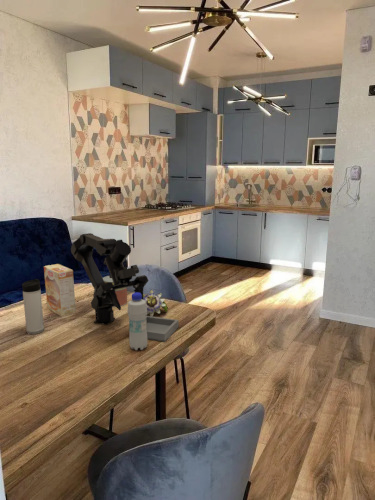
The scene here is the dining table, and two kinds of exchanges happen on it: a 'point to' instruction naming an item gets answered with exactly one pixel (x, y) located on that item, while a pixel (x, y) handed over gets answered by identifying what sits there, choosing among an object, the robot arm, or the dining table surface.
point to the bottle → (137, 322)
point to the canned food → (118, 292)
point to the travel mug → (33, 306)
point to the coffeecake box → (60, 289)
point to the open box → (160, 328)
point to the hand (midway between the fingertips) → (131, 306)
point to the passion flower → (154, 303)
